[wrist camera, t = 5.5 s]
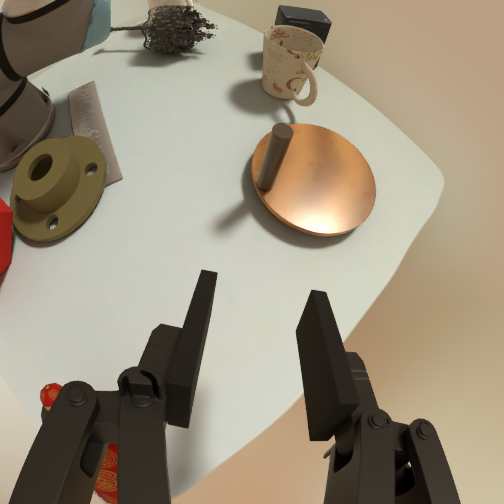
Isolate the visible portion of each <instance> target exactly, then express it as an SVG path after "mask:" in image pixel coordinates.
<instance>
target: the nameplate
mask: <svg viewBox="0 0 504 504" xmlns="http://www.w3.org/2000/svg"><path fill="white" fill-rule="evenodd" d="M68 97H69V106H70V113H71V120H72V127H73V133H74V135H78V136H84V137H87V138H89V139H91V140H92V141H94V142H95V143H96V144H97V145H98V146H99V148H100V149H101V151H102V153H103V155H104V158H105V161H106V167H107V175H106V182H105V186H104V187H106V186H108V185H110V184H112V183H115V182H117V181H119V180H121V179H122V178H123V177H122V174H121V171H120V168H119V165H118V162H117V159H116V156H115V153H114V150H113V147H112V143H111V140H110V137H109V134H108V130H107V127H106V123H105V120H104V116H103V113H102V109H101V105H100V102H99V98H98V94H97V90H96V86H95V82H94V81H92V82H89V83H87V84H85V85H83V86H81V87H79V88H77V89H75V90H73V91H71V92H69V93H68ZM97 168H98V167H92V168H90V169H89V170H88V172H87V175H88V176H89V175H92V174H94V173H95V172H96V171H97Z"/></svg>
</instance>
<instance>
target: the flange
mask: <svg viewBox="0 0 504 504" xmlns="http://www.w3.org/2000/svg"><path fill="white" fill-rule="evenodd" d="M92 167H98V168H97V171H96V172H95V173H94V174H92V175H89V176H88V175H87V172H88V170H89V169H90V168H92ZM106 175H107V167H106V161H105V158H104V155H103V153H102V151H101V149H100V148H99V146H98V145H97V144H96V143H95V142H94V141H92V140H91V139H89V138H87V137H84V136H78V135H71V136H65V137H61V138H50V139H46V140H43V141H41V142H39V143H38V144H36V145H35V146H33V147H32V148H31V149H30V150H29V151H28V152H27V153H26V154H25V155H24V156H23V158H22V159H21V161H20V162H19V164H18V166H17V168H16V171H15V174H14V179H13V188H12V191H11V196H10V209H11V210H12V211H13V224H14V226H15V227H16V229H17V230H18V231H19V232H20V233H21V234H23V235H24V236H25V237H27V238H29V239H31V240H33V241H37V242H49V241H53V240H57V239H59V238H62V237H64V236H65V235H67V234H69V233H70V232H72V231H73V230H75V229H76V228H77V227H78V226H79V225H80V224H82V223H83V222H84V221H85V219H86V218H87V217H88V216H89V215H90V213H91V212H92V211H93V209H94V208H95V206H96V205H97V203H98V201H99V199H100V197H101V195H102V192H103V189H104V186H105V182H106ZM19 197H20V198H21V199H22V201H20V202H18V199H19ZM55 218H58V224H57V226H56V227H55V228H54V229H52V230H50V229H49V226H50V223H51V221H52V220H53V219H55Z"/></svg>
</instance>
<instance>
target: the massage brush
mask: <svg viewBox="0 0 504 504" xmlns="http://www.w3.org/2000/svg"><path fill="white" fill-rule="evenodd" d="M158 7H159V8H160V9H159V8H157V7H155V8H157V9H155V11H158V10H160V11H159V12H157V13H155V12H154V13H155V14H154V16H155V17H154V19H153V17H152V15H153V14H152V15H151V16H150V13H151V10H152V9H153V10H154V8H152V9H150V10H149V12H148V15H149V18H148V20H147V21H146V22H145V23H144V24H143V26H138V27H121V28H119V27H118V28H113V27H111V29H110V32H112V31H117V30H118V31H121V30H138V29H139V30H142V33H143V35H144V36H145V42H144V47H145V48H147V47H146V46H145V45H148V44H147V43H146V42H148V43H149V41H147V36H146V30H147V29H148V30H149V31H148V32H147V33H148V34H149V35H148V36H149V39H148V40H151V41H150V43H149V46H148V47H152V46H153V47H152V49H151V48H150V50H155V51H156V49H157V51H159V52H160V51H169V52H173V51H174V52H180V53H181V52H185V51H182V50H186V49H187V48H188V47H191V46H192V47H193V46H195V45H193V44H194V42H195V41H197V42H200V41H203V37H207V38H208V39H210V38H211V36H213V34H209V33H208V34H206V33H205V31H204V32H202V30H199V29H200V27H202V26H203V25H206V26H203V27H205V28H206V29H214V28H215V27H214V24H210V25H209V24H208V23H206V22H207V21H208V20H206V19H205V18H202V20H201V18H199V17H200V16H199V15H202V14H200V13H199V12H198V13H197V12H196V10H193V11H189V10H190V9H191V8H193V7H194V6H192V7H191V6H190V5H189V6H188V5H187V6H184V5H183V6H181V5H177V6H175V5H173V6H167V5H164V6H162V7H161V6H158ZM164 8H167V9H168V11H167V10H166V9H164ZM178 8H179V9H178ZM172 9H173V10H172ZM181 9H182V10H181ZM185 9H186V10H185ZM193 9H194V8H193ZM163 10H164V11H163ZM183 10H184V12H183ZM152 12H153V11H152ZM164 15H165V16H164ZM159 16H160V17H159ZM195 16H196V17H197V18H196V17H195ZM151 17H152V21H151V20H150V18H151ZM158 17H159V18H158ZM201 17H202V16H201ZM195 18H196V19H197V20H196V19H195ZM149 20H150V21H151V22H152V23H151V22H150V24H149V26H147V25H148V24H146V23H148V21H149ZM156 21H157V23H156ZM208 22H209V21H208ZM202 23H203V24H202ZM145 24H146V26H147V27H144V26H145ZM191 24H192V25H191ZM191 26H192V27H191ZM216 26H217V25H216ZM179 28H180V29H179ZM184 28H185V29H184ZM192 28H193V29H192ZM188 29H189V31H188ZM201 29H202V28H201ZM216 29H218V28H216ZM144 30H145V33H144ZM177 31H178V32H177ZM198 32H201V33H198ZM208 32H209V31H208ZM150 33H151V34H150ZM153 34H154V36H153ZM205 35H207V36H205ZM202 36H203V37H202ZM215 36H216V35H215ZM150 37H151V39H150ZM195 37H196V38H195ZM199 37H200V38H199ZM159 38H160V39H159ZM213 38H214V37H213ZM178 39H179V40H178ZM205 39H206V38H205ZM154 40H156V41H154ZM159 40H160V41H159ZM164 40H165V41H164ZM191 40H192V41H191ZM158 41H159V42H158ZM177 41H178V42H177ZM153 43H154V44H153ZM163 44H164V46H163V49H162V45H163ZM196 44H197V43H196ZM157 45H159V46H157ZM156 46H157V47H156ZM178 46H182V49H179V47H178ZM169 47H170V48H169ZM168 48H169V49H168ZM147 49H149V48H147ZM188 49H189V48H188Z"/></svg>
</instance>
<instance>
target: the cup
mask: <svg viewBox="0 0 504 504" xmlns="http://www.w3.org/2000/svg"><path fill="white" fill-rule="evenodd" d="M148 4H149V10H150V9H152V8H154V10H153V9H152V10H151V13H150V16H151V15H152V14H153V15H152V17H153V19H154V17H155V16H154V14H155V13H157V12H159V11H160V10H158V11H155V9H157V8H159V7H158V6H161V7H162V6H164V5H167V6H173V5H175V6H177V5H181V6H183V5H184V6H187V5H188V6H189V5H190V6H191V7H192V6H193V4H192V0H148ZM155 7H157V8H155ZM159 9H160V8H159ZM164 9H166V10H167V11H168V9H167V8H164ZM178 9H179V8H178ZM172 10H173V9H172ZM181 10H182V9H181ZM185 10H186V9H185ZM152 11H153V12H152ZM163 11H164V10H163ZM189 11H193V8H191V9H190V10H189ZM154 12H155V13H154ZM183 12H184V10H183ZM164 16H165V15H164ZM152 17H151V18H150V20H151V21H152ZM159 17H160V16H159ZM159 17H158V18H159ZM151 21H150V22H151ZM151 23H152V22H151ZM156 23H157V21H156Z"/></svg>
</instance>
